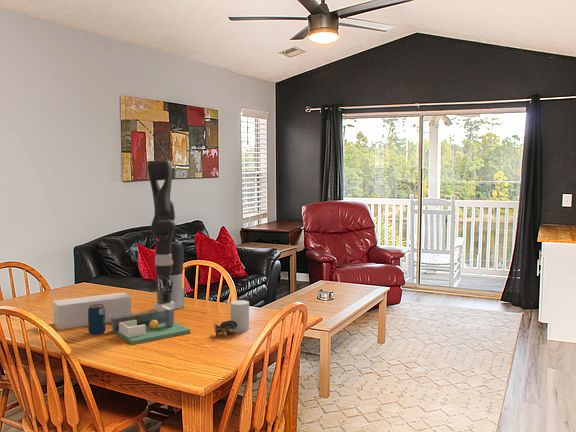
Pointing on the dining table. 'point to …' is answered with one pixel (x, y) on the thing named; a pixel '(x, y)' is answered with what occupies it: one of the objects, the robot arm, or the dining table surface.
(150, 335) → the pitch
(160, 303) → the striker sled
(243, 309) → the cup
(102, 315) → the soda can
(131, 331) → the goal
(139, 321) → the rail
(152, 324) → the ball
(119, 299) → the white ribbed long block
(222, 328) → the toy animal figurine
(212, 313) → the dining table surface
